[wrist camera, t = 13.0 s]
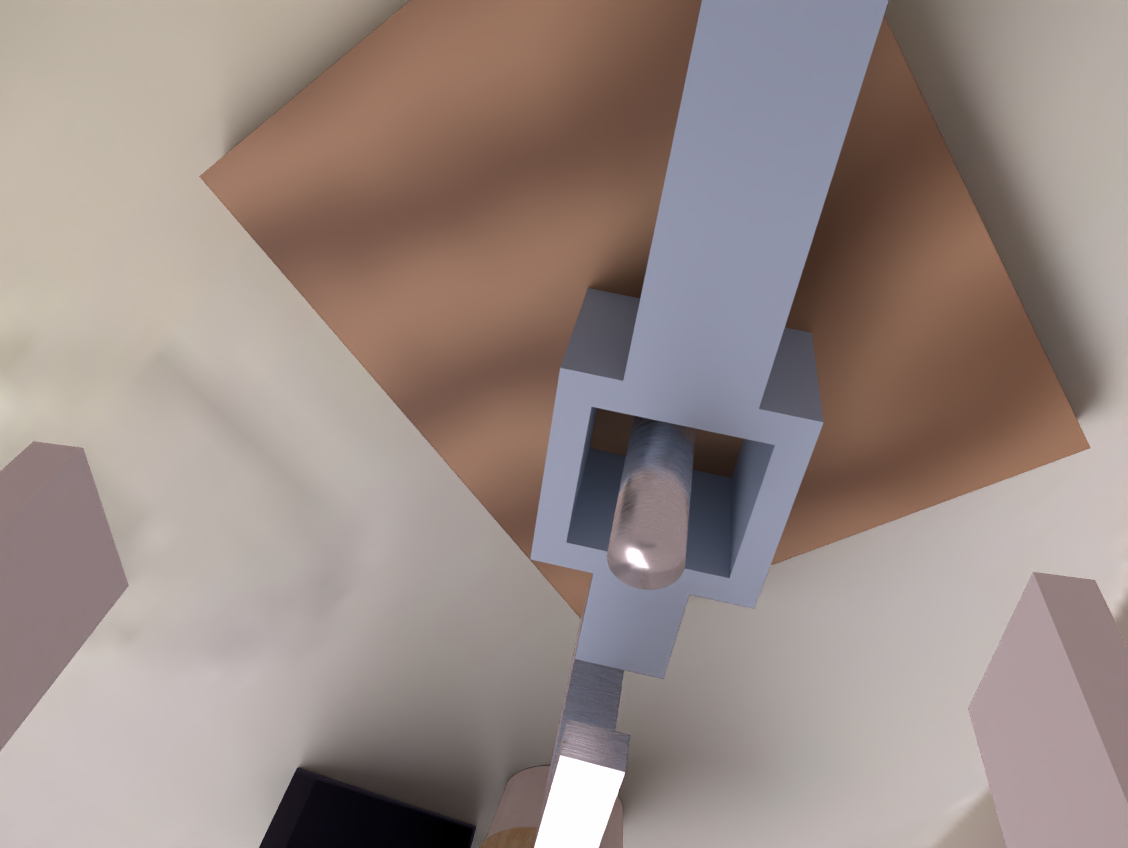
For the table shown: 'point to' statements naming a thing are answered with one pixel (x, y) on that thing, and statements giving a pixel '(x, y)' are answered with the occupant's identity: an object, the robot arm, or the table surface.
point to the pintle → (653, 505)
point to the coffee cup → (536, 813)
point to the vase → (356, 819)
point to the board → (630, 257)
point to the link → (712, 318)
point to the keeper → (584, 759)
